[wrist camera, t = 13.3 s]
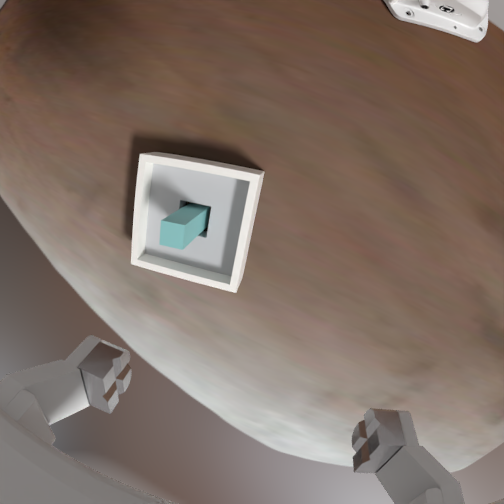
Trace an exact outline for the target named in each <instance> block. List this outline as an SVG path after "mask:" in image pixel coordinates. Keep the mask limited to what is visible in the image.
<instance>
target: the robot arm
mask: <svg viewBox="0 0 504 504" xmlns="http://www.w3.org/2000/svg"><path fill="white" fill-rule="evenodd" d="M383 1H384V2H385V3H386V5H387V6H388V8H389V10H390V11H391V13H392V14H393V16H394V17H396V18H397V19H399V20H402V21H407V22H411V23H415V24H419V25H423V26H427V27H430V28H434V29H437V30H441V31H444V32H447V33H450V34H453V35H456V36H459V37H462V38H465V39H468V40H470V41H473V42H479V41H480V40H481V39H482V38H483V37H484V36H485V34H486V31H487V27H488V11H487V10H488V4H489V3H488V2H489V0H383ZM406 12H407V13H408V14H409V15H410V16H409V15H407V14H406ZM479 29H480V30H481V31H480V30H479ZM129 360H130V352H129V351H127V350H125V349H123V348H120V347H118V346H116V345H113V344H111V343H109V342H107V341H104V340H102V339H99V338H97V337H95V336H93V335H91V336H88V337H87V338H86V339H85V340H84V341H83V342H82V343H81V344H80V345H79V346H78V347H77V348H76V349H75V350H74V351H73V352H72V353H71V354H70V356H69V357H68V358H67V359H66V360H65V361H63V360H58V361H54V362H51V363H47V364H44V365H40V366H36V367H33V368H29V369H25V370H22V371H18V372H14V373H10V374H7V375H6V376H5V377H4V378H3V379H2V380H1V381H0V504H177V503H174V502H171V501H168V500H165V499H162V498H159V497H156V496H154V495H151V494H148V493H145V492H143V491H140V490H138V489H136V488H133V487H131V486H128V485H126V484H124V483H121V482H119V481H117V480H115V479H113V478H110V477H108V476H106V475H104V474H102V473H100V472H98V471H96V470H94V469H92V468H90V467H88V466H86V465H84V464H83V463H81V462H79V461H77V460H75V459H73V458H72V457H70V456H68V455H67V454H65V453H63V452H62V451H60V450H58V449H56V448H55V447H53V446H52V444H53V443H54V441H55V436H54V434H53V432H52V430H51V428H50V426H49V425H50V424H53V423H55V422H57V421H59V420H61V419H63V418H65V417H67V416H70V415H71V414H74V413H75V412H78V411H79V410H82V409H84V408H86V407H88V406H89V405H92V406H94V407H96V408H98V409H100V410H103V411H105V412H107V413H110V414H111V412H112V411H113V409H114V408H115V406H116V405H117V403H118V401H119V400H118V395H119V394H121V393H124V392H125V391H126V389H127V387H128V385H129V382H130V380H131V367H130V366H129V365H128V362H129ZM352 447H353V449H354V450H355V451H356V454H355V455H354V456H353V466H354V472H358V473H376V474H375V475H376V476H377V478H378V479H379V481H380V482H381V484H382V485H383V487H384V488H385V490H386V491H387V493H388V494H389V496H390V497H391V499H392V500H393V502H394V503H395V504H465V503H464V498H463V494H462V490H461V486H460V483H459V482H458V481H457V480H456V479H455V478H454V477H453V476H452V475H451V474H450V473H449V472H448V471H447V470H446V469H445V468H444V467H443V466H442V465H441V464H440V463H439V462H438V461H437V460H436V459H435V458H434V457H433V456H432V455H431V454H430V453H429V452H428V451H427V450H426V449H425V448H424V447H423V446H419V443H418V439H417V436H416V432H415V428H414V425H413V421H412V418H411V414H410V413H409V411H399V410H385V409H372V408H370V409H369V410H367V411H366V413H365V414H364V420H363V421H361V422H359V423H358V424H357V426H356V427H355V429H354V432H353V435H352ZM490 504H504V499H501V500H498V501H496V502H493V503H490Z"/></svg>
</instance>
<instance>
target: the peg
mask: <svg viewBox="0 0 504 504" xmlns="http://www.w3.org/2000/svg"><path fill="white" fill-rule="evenodd" d="M209 211H210V206H205V205H199V204H194V203H189V204H187V205H186V206H184V207H182V208H181V209H179V210H177V211H176V212H174V213H172V214H171V215H169V216H167V217H166V218H164V219H162V220H161V226H160V242H159V245H163V246H167V247H172V248H176V249H181V250H183V249H184V248H185V247H186V246H187V245H188V244H189V243H190V242H192V241H193V240H194V239H195V238H196V237H197V236H198V235H199V234H200V233H201V232H202V231H203V230H204V229H205V228H206V227H207V226H208V218H209Z"/></svg>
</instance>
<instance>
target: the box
mask: <svg viewBox="0 0 504 504" xmlns="http://www.w3.org/2000/svg"><path fill="white" fill-rule="evenodd" d="M264 172H265V171H261V170H256V169H251V168H247V167H242V166H237V165H232V164H226V163H221V162H216V161H210V160H205V159H199V158H193V157H187V156H181V155H175V154H168V153H162V152H150V153H142V154H140V157H139V165H138V173H137V183H136V193H135V204H134V217H133V233H132V255H131V264H133V265H136V266H140V267H143V268H147V269H150V270H153V271H157V272H160V273H164V274H168V275H171V276H175V277H178V278H182V279H185V280H189V281H193V282H196V283H200V284H204V285H208V286H211V287H215V288H219V289H223V290H227V291H231V292H234V293H236V292H237V289H238V287H239V284H240V282H241V280H242V277H243V273H244V268H245V263H246V258H247V253H248V249H249V244H250V239H251V234H252V229H253V224H254V220H255V215H256V210H257V205H258V201H259V196H260V191H261V186H262V181H263V177H264ZM186 201H188V202H192V203H197V204H202V205H206V206H211V212H210V218H209V224H208V231H207V232H206V231H202V232H201V233H200V234H199V235H198V236H197V237H196V238H195V239H194V240H193V241H192V242H190V243H189V244H188V245H187V246H186V247H185V248H184V249H183V250H181V249H176V248H172V247H167V246H163V245H159V242H160V226H161V220H162V219H164V218H166V217H167V216H169V215H171V214H172V213H174V212H176V211H177V210H179V209H181V208H182V207H184V206H185V205H186Z"/></svg>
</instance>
